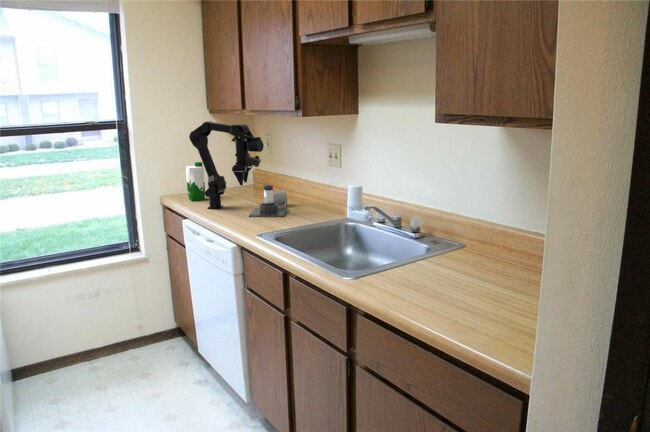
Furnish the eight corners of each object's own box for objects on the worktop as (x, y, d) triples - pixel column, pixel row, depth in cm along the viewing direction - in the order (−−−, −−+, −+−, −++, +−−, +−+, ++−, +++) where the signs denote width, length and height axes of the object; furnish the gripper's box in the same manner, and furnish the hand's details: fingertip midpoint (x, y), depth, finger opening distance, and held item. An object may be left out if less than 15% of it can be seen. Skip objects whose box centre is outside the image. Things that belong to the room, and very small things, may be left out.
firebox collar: (255, 209, 252) (255, 200, 251) (288, 209, 251) (288, 201, 250) (248, 216, 236) (248, 207, 235) (283, 217, 235) (283, 207, 234)
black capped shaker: (263, 211, 244) (262, 185, 242) (271, 210, 246) (271, 184, 244) (266, 212, 240) (265, 186, 238) (275, 211, 242) (274, 185, 240)
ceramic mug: (267, 205, 262) (267, 190, 260) (283, 203, 265) (282, 189, 264) (274, 209, 253) (273, 194, 251) (290, 207, 256) (289, 192, 254)
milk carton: (206, 200, 276) (204, 163, 272) (189, 201, 273) (187, 164, 268) (203, 197, 284) (201, 161, 280) (186, 199, 280) (184, 162, 276)
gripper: (255, 153, 234) (256, 187, 238) (262, 149, 252) (263, 180, 256) (230, 153, 235) (232, 187, 238) (240, 149, 253) (241, 180, 256)
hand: (243, 183), depth 247 cm, fingers open, 9 cm apart
